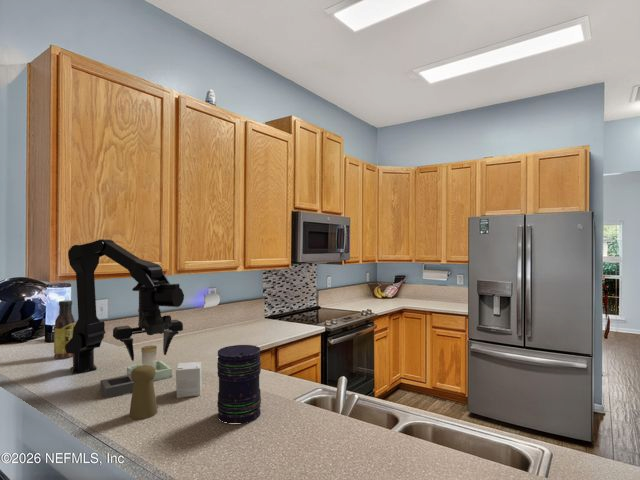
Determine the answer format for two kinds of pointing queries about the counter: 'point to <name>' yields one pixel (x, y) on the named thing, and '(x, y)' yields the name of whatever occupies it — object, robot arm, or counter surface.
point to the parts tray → (161, 372)
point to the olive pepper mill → (143, 393)
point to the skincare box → (188, 379)
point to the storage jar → (239, 383)
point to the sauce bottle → (63, 329)
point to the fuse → (149, 356)
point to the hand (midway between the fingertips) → (149, 357)
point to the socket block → (116, 386)
